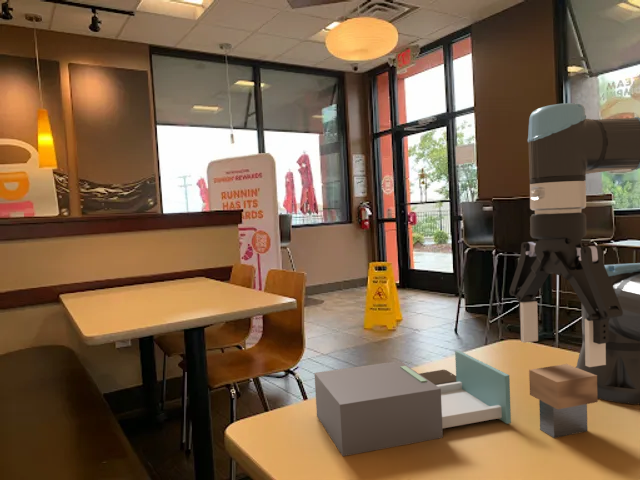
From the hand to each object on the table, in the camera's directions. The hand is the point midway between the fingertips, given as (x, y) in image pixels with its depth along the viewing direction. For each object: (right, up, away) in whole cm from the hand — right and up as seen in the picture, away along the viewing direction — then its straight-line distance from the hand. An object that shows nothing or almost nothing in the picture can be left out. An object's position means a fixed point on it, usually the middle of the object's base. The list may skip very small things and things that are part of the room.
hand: (559, 352), depth 74 cm
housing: (-28, -13, +6) cm, 32 cm away
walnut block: (+1, -7, 0) cm, 7 cm away
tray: (-16, -12, +9) cm, 22 cm away
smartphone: (-17, -12, +24) cm, 32 cm away
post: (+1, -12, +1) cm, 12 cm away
